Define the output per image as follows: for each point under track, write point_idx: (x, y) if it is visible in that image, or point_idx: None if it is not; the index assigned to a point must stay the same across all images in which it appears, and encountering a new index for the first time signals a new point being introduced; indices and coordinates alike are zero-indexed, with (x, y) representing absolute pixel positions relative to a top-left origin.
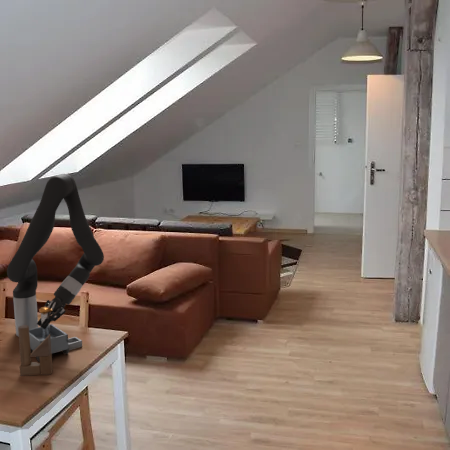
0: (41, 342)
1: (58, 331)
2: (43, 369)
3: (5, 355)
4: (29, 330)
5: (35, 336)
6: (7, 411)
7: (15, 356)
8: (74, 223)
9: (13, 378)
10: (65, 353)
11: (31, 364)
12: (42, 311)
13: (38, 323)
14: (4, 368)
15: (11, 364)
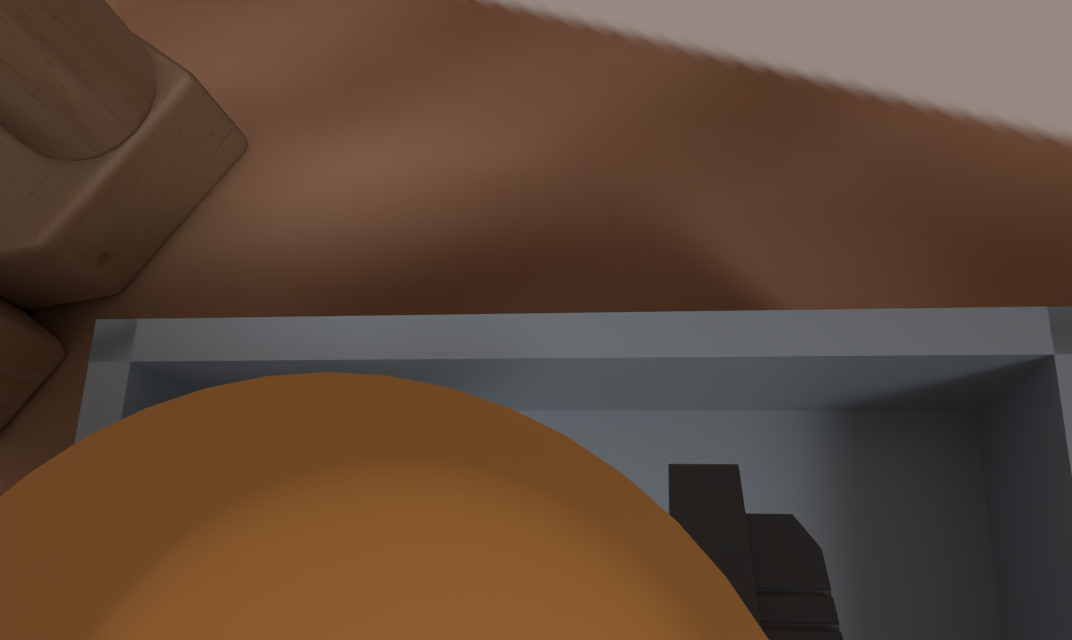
0: (100, 357)
1: None
2: None
3: (974, 129)
4: (1059, 416)
5: (1003, 593)
6: None
7: (833, 229)
8: None
9: (174, 15)
10: None
11: (23, 151)
12: (68, 522)
13: (669, 504)
14: (523, 7)
15: (583, 105)
